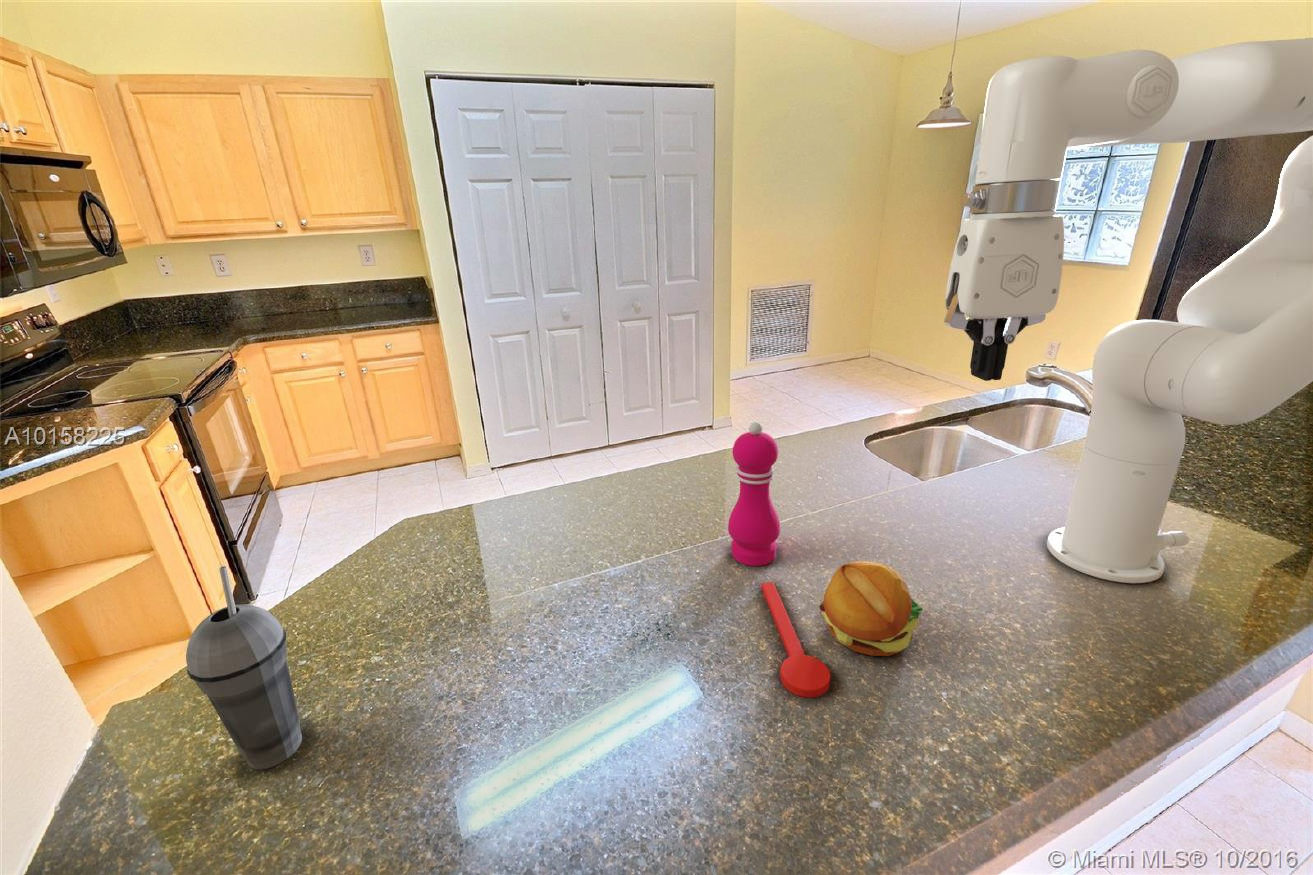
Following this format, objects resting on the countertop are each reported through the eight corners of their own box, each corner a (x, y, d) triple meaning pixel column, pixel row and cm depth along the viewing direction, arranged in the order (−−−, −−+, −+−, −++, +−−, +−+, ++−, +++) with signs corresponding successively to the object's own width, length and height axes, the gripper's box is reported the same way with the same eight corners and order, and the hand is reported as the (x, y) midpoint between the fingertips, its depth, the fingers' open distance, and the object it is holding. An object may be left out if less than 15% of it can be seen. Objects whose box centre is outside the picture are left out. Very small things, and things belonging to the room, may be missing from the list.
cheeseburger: (927, 619, 67) (934, 558, 62) (900, 694, 61) (906, 632, 55) (842, 590, 73) (841, 532, 68) (808, 655, 66) (805, 596, 61)
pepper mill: (779, 570, 78) (784, 432, 71) (725, 566, 80) (725, 430, 73) (779, 542, 85) (783, 413, 78) (730, 539, 86) (730, 412, 79)
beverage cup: (256, 721, 58) (191, 548, 51) (331, 713, 58) (276, 542, 51) (210, 787, 51) (127, 599, 44) (295, 778, 51) (226, 591, 44)
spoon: (786, 586, 75) (786, 579, 75) (837, 695, 58) (837, 688, 57) (748, 589, 75) (748, 582, 74) (787, 700, 57) (788, 692, 57)
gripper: (963, 205, 55) (938, 391, 61) (1113, 197, 56) (1073, 381, 62) (923, 207, 62) (905, 373, 68) (1057, 200, 63) (1026, 365, 69)
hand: (985, 377), depth 65 cm, fingers closed
